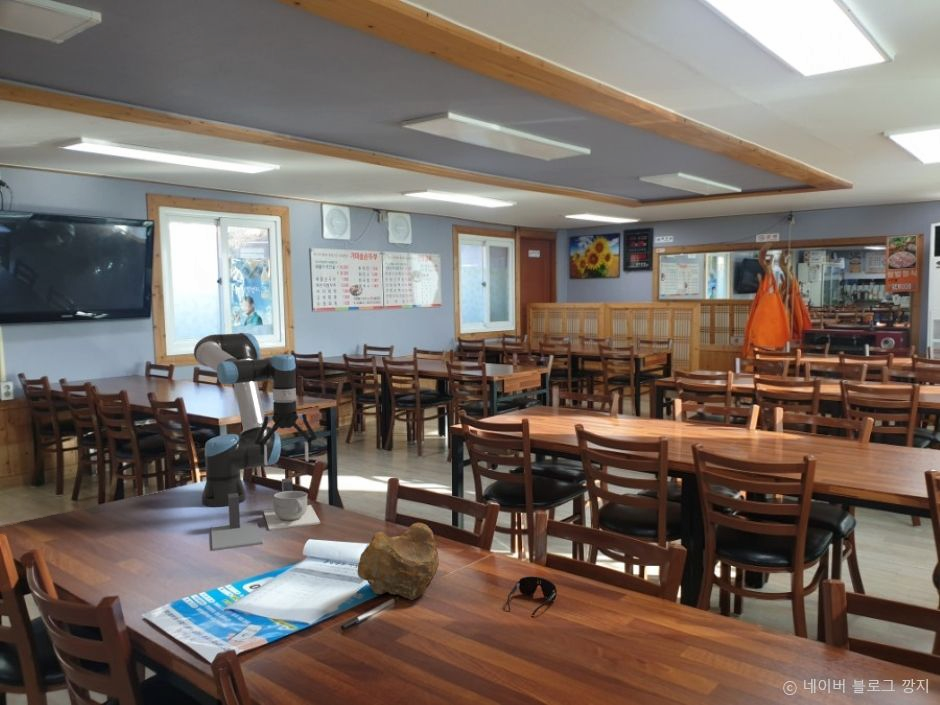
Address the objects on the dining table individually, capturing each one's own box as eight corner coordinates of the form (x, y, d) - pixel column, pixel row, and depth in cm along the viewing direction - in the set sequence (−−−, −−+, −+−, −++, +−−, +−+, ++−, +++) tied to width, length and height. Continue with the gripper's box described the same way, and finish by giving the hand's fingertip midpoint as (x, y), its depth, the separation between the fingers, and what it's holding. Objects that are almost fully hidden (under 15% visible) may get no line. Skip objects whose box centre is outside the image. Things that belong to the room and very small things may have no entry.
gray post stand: (211, 528, 224) (209, 495, 223) (256, 522, 229) (255, 490, 228) (212, 550, 205) (210, 515, 204) (262, 543, 210) (261, 509, 209)
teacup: (272, 515, 235) (271, 491, 234) (304, 510, 239) (304, 487, 238) (279, 527, 222) (278, 502, 221) (313, 522, 227) (312, 498, 226)
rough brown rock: (395, 619, 162) (399, 557, 160) (348, 594, 172) (351, 535, 171) (460, 589, 180) (465, 533, 178) (414, 568, 190) (418, 515, 189)
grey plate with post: (263, 511, 241) (262, 481, 240) (310, 505, 247) (309, 476, 246) (269, 530, 222) (267, 497, 221) (320, 523, 227) (319, 491, 226)
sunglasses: (560, 599, 170) (558, 580, 169) (541, 625, 160) (540, 606, 159) (521, 591, 175) (520, 573, 174) (501, 616, 165) (499, 597, 164)
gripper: (246, 404, 229) (248, 468, 231) (323, 400, 238) (325, 461, 240) (245, 401, 236) (247, 463, 238) (320, 396, 245) (321, 456, 247)
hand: (286, 462), depth 239 cm, fingers open, 13 cm apart
